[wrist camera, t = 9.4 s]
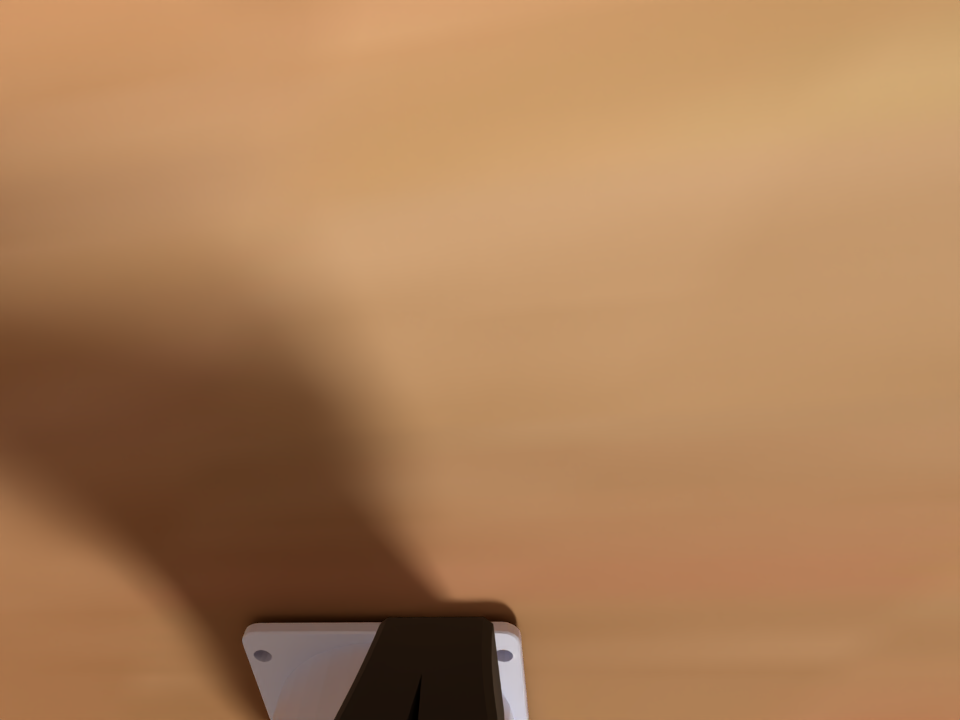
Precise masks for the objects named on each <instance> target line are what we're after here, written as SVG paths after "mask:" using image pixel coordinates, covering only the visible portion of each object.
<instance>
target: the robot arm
mask: <svg viewBox="0 0 960 720" xmlns="http://www.w3.org/2000/svg"><path fill="white" fill-rule="evenodd" d="M242 643H243V646H244V649H245V652H246V654H247V657H248V660H249V663H250V665H251V668H252V671H253V674H254V676H255V679H256V682H257V685H258V687H259V690H260V693H261V696H262V698H263V701H264V704H265V707H266V710H267V712H268V715H269V718H270V720H529V714H528V704H527V693H526V683H525V673H524V663H523V653H522V642H521V633H520V631H519V629H518V628H517V627H516V626H515V625H513V624H510V623H508V622H490V621H489V620H487V619H486V618H484V617H407V618H386V619H385V620H384V621H383V622H344V623H255V624H251V625H250V626H248V627H247V628H246V630H245V632H244V635H243V638H242Z"/></svg>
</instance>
